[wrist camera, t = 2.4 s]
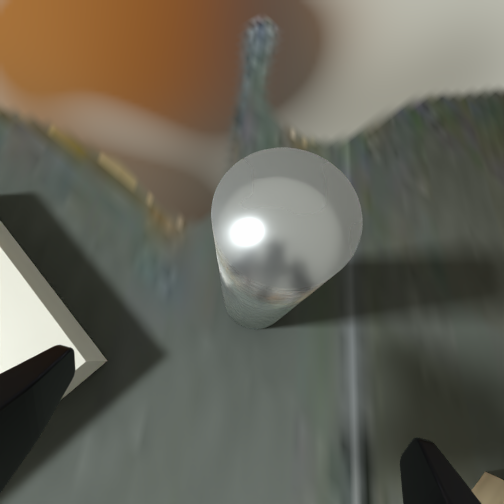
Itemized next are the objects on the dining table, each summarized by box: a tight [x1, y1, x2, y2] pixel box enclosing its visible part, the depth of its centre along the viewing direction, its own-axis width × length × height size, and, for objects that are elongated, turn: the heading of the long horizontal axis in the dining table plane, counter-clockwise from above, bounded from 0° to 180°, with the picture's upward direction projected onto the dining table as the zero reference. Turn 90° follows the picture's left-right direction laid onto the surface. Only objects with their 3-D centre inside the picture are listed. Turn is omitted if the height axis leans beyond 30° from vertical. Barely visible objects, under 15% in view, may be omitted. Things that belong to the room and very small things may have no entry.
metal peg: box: [211, 148, 362, 329], centre depth 15 cm, size 4×4×13 cm
